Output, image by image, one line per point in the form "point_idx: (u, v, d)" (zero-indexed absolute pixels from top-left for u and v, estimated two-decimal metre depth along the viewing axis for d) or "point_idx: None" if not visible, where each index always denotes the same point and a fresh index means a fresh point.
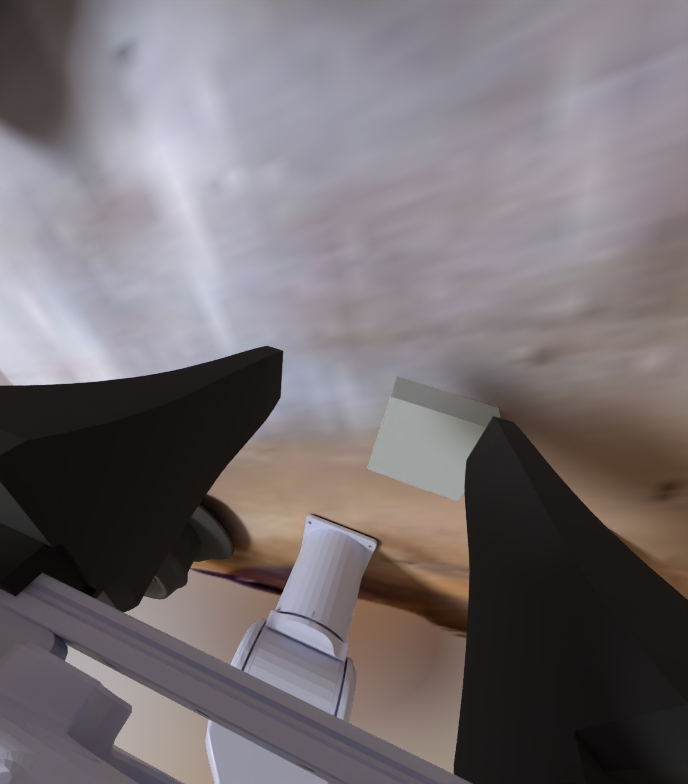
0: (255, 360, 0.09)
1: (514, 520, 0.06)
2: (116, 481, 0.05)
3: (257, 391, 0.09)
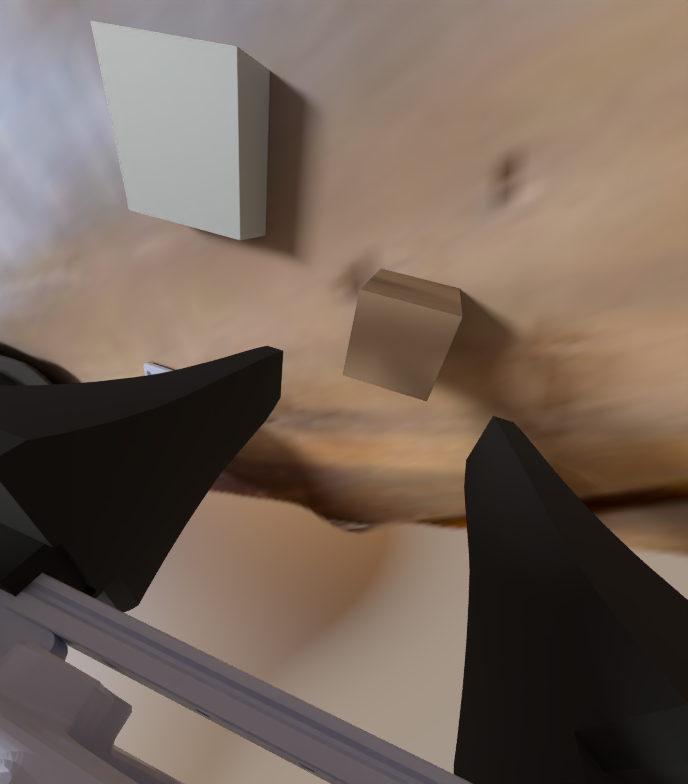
0: (255, 360, 0.09)
1: (514, 520, 0.06)
2: (116, 481, 0.05)
3: (257, 391, 0.09)
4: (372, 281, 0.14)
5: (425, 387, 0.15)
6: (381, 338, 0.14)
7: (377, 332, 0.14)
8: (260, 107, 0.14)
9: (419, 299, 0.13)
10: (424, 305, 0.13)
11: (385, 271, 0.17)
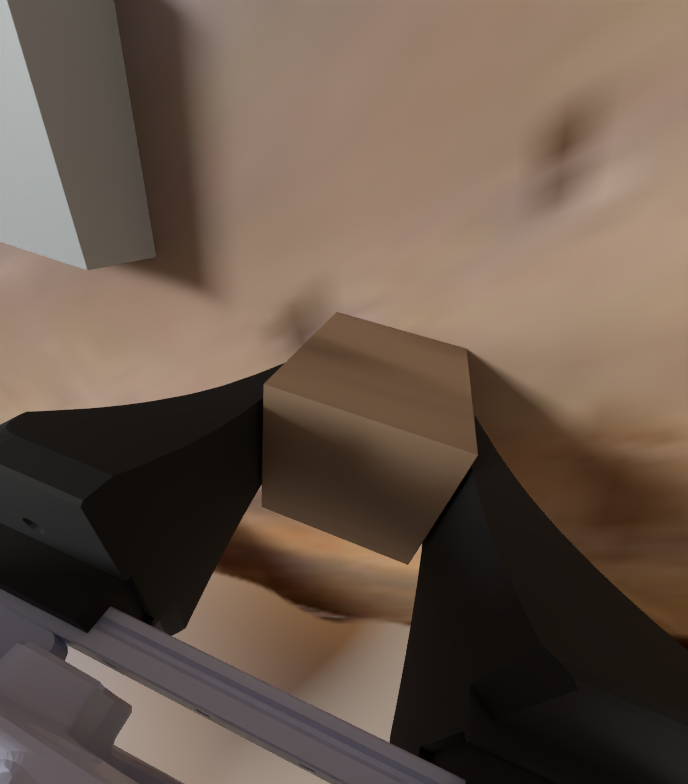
0: None
1: (455, 499, 0.07)
2: (179, 507, 0.05)
3: None
4: (305, 351, 0.08)
5: (405, 547, 0.08)
6: (317, 467, 0.07)
7: (308, 457, 0.07)
8: (92, 26, 0.07)
9: (387, 401, 0.07)
10: (396, 424, 0.06)
11: (341, 319, 0.10)
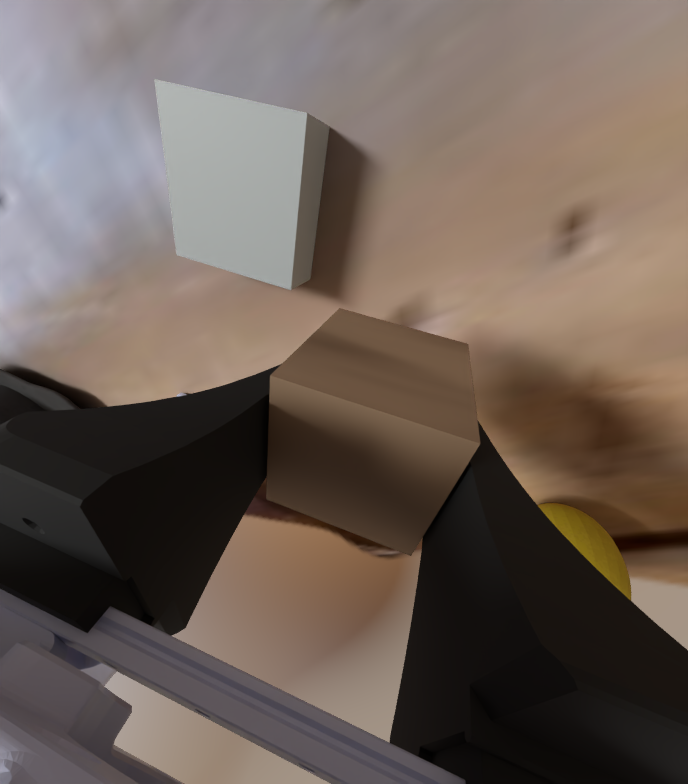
0: None
1: (455, 499, 0.07)
2: (179, 507, 0.05)
3: None
4: (309, 345, 0.08)
5: (408, 537, 0.08)
6: (322, 457, 0.07)
7: (313, 448, 0.07)
8: (318, 163, 0.14)
9: (391, 392, 0.07)
10: (400, 414, 0.06)
11: (345, 314, 0.10)
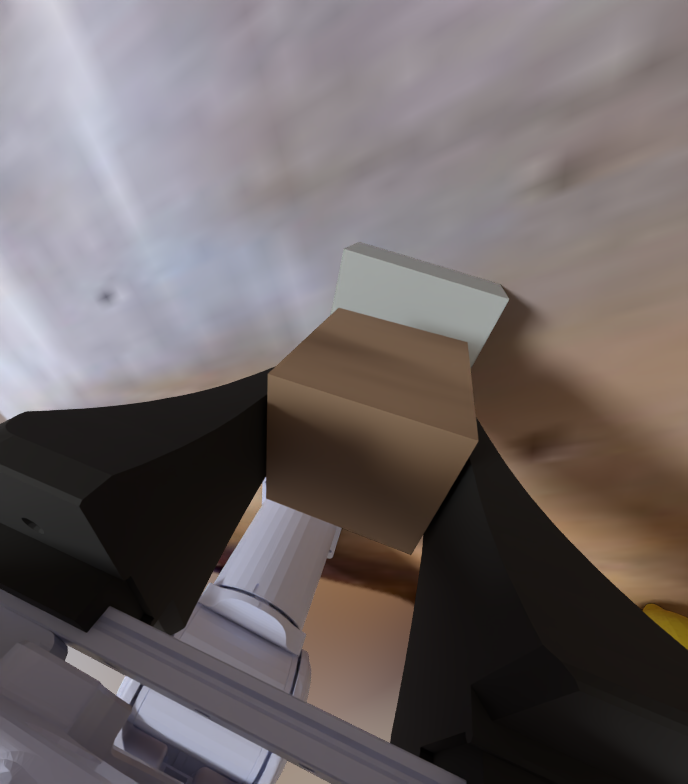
0: None
1: (456, 499, 0.07)
2: (178, 507, 0.05)
3: None
4: (308, 344, 0.08)
5: (408, 536, 0.08)
6: (320, 456, 0.07)
7: (311, 447, 0.07)
8: None
9: (389, 390, 0.07)
10: (398, 412, 0.06)
11: (344, 313, 0.10)
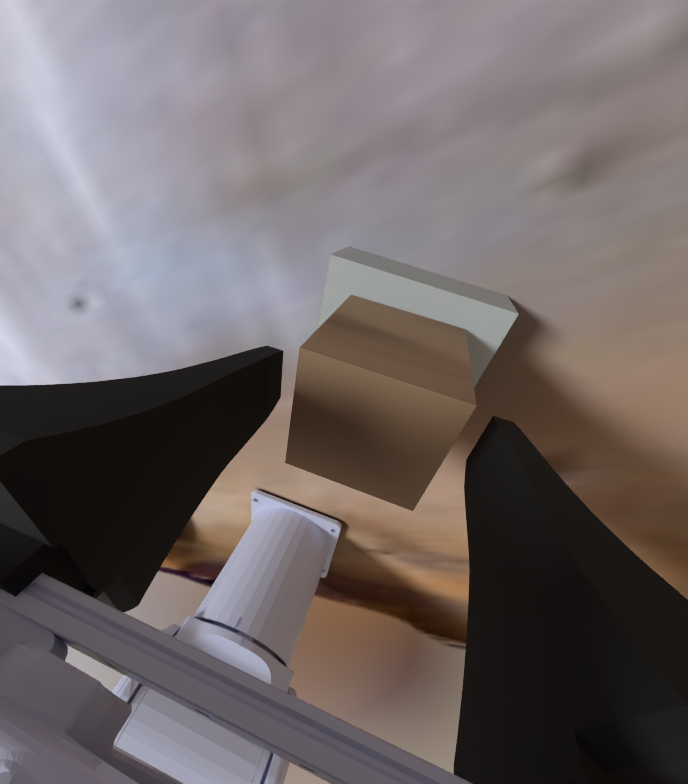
0: (255, 360, 0.09)
1: (514, 520, 0.06)
2: (116, 481, 0.05)
3: (257, 391, 0.09)
4: (329, 324, 0.09)
5: (411, 494, 0.09)
6: (339, 422, 0.08)
7: (332, 414, 0.08)
8: None
9: (402, 365, 0.08)
10: (410, 381, 0.07)
11: (356, 300, 0.11)
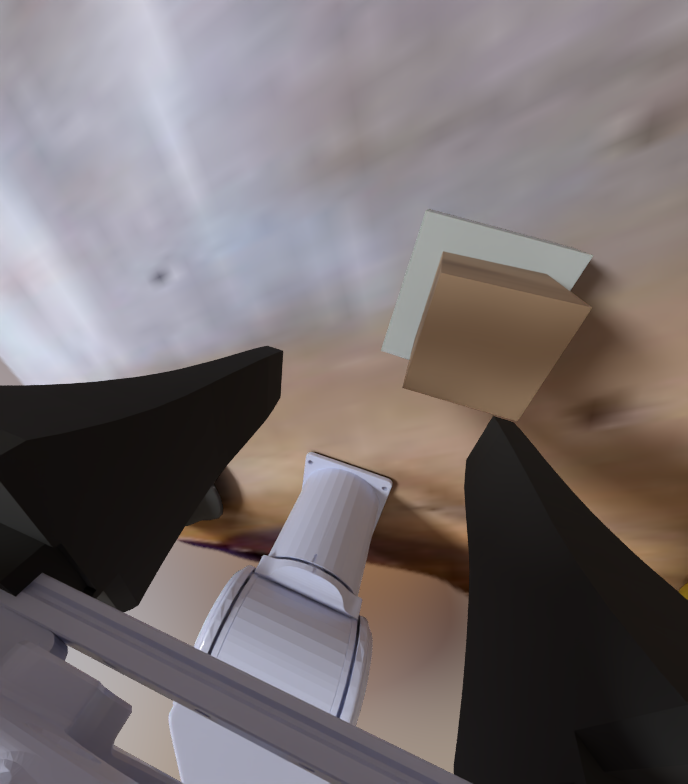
0: (255, 360, 0.09)
1: (514, 520, 0.06)
2: (116, 481, 0.05)
3: (257, 391, 0.09)
4: (446, 264, 0.11)
5: (518, 403, 0.11)
6: (463, 339, 0.10)
7: (458, 332, 0.10)
8: None
9: (520, 286, 0.10)
10: (534, 293, 0.09)
11: (450, 254, 0.13)
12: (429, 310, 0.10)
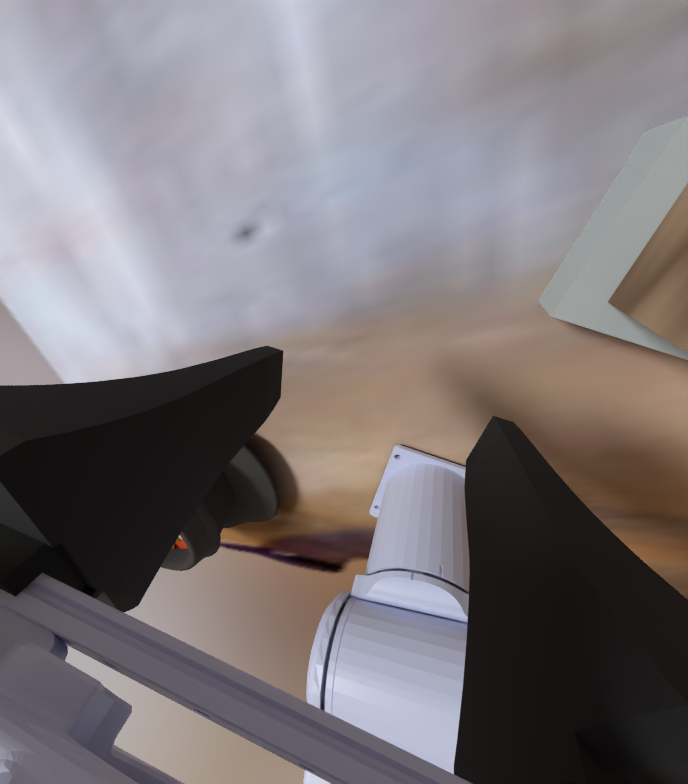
0: (255, 360, 0.09)
1: (514, 520, 0.06)
2: (116, 481, 0.05)
3: (257, 391, 0.09)
4: None
5: None
6: None
7: None
8: None
9: None
10: None
11: None
12: None
